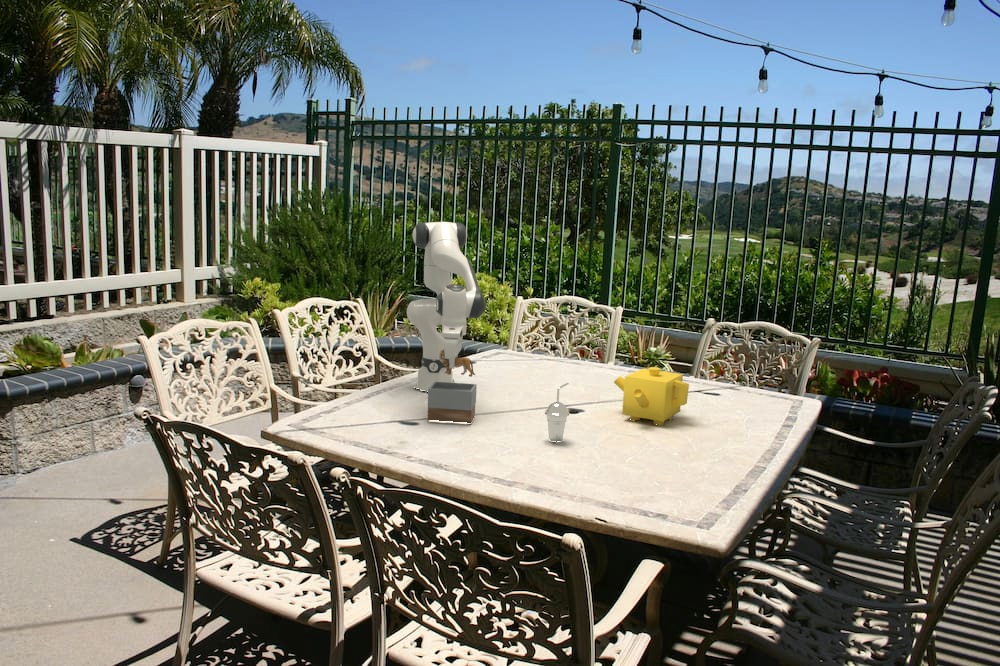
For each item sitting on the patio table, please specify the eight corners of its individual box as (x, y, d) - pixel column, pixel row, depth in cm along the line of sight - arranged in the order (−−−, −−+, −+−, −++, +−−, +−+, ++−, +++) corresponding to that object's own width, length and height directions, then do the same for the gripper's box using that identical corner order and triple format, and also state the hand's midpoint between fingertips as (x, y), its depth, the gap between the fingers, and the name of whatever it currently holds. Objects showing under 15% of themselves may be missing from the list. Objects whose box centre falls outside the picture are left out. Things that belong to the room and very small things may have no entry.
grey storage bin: (434, 399, 306) (434, 381, 305) (475, 402, 304) (476, 384, 303) (427, 407, 294) (428, 388, 293) (471, 410, 293) (471, 391, 292)
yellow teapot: (629, 403, 335) (632, 355, 331) (698, 415, 320) (702, 365, 317) (594, 421, 305) (597, 369, 302) (668, 435, 290) (673, 380, 287)
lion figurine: (439, 374, 293) (442, 349, 292) (435, 372, 298) (438, 347, 297) (477, 377, 298) (480, 353, 297) (472, 375, 303) (475, 351, 302)
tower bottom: (432, 414, 307) (433, 399, 306) (474, 417, 306) (475, 401, 305) (427, 423, 296) (427, 407, 295) (471, 426, 294) (471, 410, 293)
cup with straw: (539, 438, 281) (542, 382, 278) (562, 436, 284) (565, 381, 281) (549, 445, 273) (552, 388, 270) (573, 443, 276) (576, 386, 273)
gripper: (449, 324, 306) (448, 360, 308) (441, 333, 286) (440, 371, 288) (466, 325, 305) (464, 361, 308) (459, 334, 285) (458, 372, 287)
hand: (453, 366), depth 298 cm, fingers closed on lion figurine, 4 cm apart
